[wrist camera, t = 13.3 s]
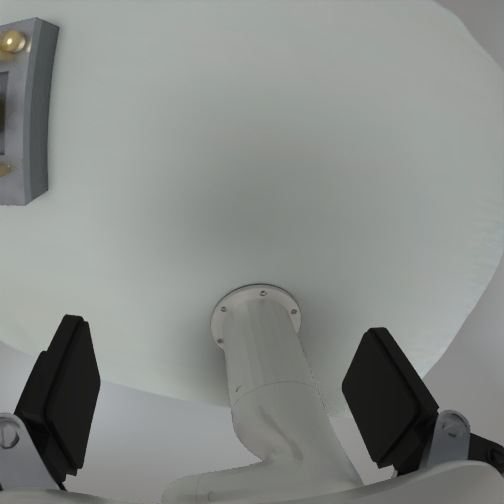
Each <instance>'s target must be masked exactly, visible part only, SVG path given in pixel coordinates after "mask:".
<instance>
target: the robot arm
mask: <svg viewBox="0 0 504 504" xmlns="http://www.w3.org/2000/svg"><path fill="white" fill-rule="evenodd" d="M300 325H301V313H300V310H299V307H298V305H297V303H296V301H295V300H294V299H293V297H292V296H291V295H289V294H288V293H287V292H286V291H284V290H282V289H280V288H277V287H274V286H270V285H251V286H246V287H242V288H240V289H237V290H235V291H233V292H231V293H230V294H228V295H227V296H225V297H224V298H223V299H222V300H221V301H220V302H219V303H218V305H217V306H216V307H215V309H214V311H213V314H212V317H211V333H212V336H213V339H214V341H215V342H216V344H217V345H218V346H219V347H220V348H221V349H222V350H223V351H225V361H226V370H227V379H228V388H229V397H230V405H231V414H232V422H233V427H234V431H235V433H236V435H237V437H238V438H239V440H240V442H241V443H242V444H243V445H244V446H245V447H246V448H247V449H248V450H249V451H250V452H251V453H253V454H254V455H255V456H257V457H258V458H260V459H261V460H263V461H262V462H259V463H255V464H251V465H249V466H244V467H239V468H233V469H227V470H222V471H215V472H208V473H202V474H196V475H191V476H185V477H182V478H179V479H177V480H175V481H173V482H172V483H170V484H169V485H168V486H167V487H166V489H165V491H164V492H163V495H162V499H161V504H504V447H503V446H501V445H499V444H497V443H495V442H492V441H490V440H487V439H485V438H482V437H480V436H477V435H475V434H472V433H470V425H469V422H468V421H467V419H466V418H465V417H464V416H463V415H462V414H461V413H459V412H457V411H454V410H445V411H442V412H441V413H440V414H439V413H438V412H437V410H438V408H439V406H438V405H437V403H436V401H435V400H434V398H433V397H432V395H431V394H430V392H429V390H428V389H427V387H426V386H425V384H424V383H423V382H422V380H421V378H420V377H419V375H418V374H417V372H416V371H415V369H414V368H413V366H412V365H411V363H410V362H409V360H408V359H407V357H406V356H405V354H404V353H403V351H402V350H401V349H400V347H399V346H398V344H397V343H396V341H395V340H394V338H393V337H392V336H391V334H390V333H389V331H388V330H387V329H386V328H384V327H380V328H370V329H369V330H368V331H367V332H365V333H364V335H363V337H362V339H361V342H360V344H359V347H358V349H357V351H356V353H355V356H354V358H353V360H352V363H351V365H350V367H349V369H348V371H347V374H346V376H345V378H344V380H343V382H342V392H343V394H344V396H345V399H346V401H347V403H348V406H349V408H350V410H351V413H352V415H353V417H354V419H355V422H356V424H357V426H358V429H359V431H360V433H361V435H362V438H363V440H364V443H365V445H366V448H367V450H368V452H369V455H370V457H371V459H372V461H373V462H376V463H377V466H378V468H379V469H380V468H383V467H387V466H390V465H392V464H393V466H394V472H393V475H392V477H391V479H388V480H385V481H382V482H378V483H374V484H370V485H367V486H365V485H364V483H363V481H362V479H361V477H360V475H359V473H358V472H357V470H356V469H355V467H354V465H353V464H352V462H351V461H350V459H349V458H348V456H347V454H346V452H345V451H344V449H343V447H342V446H341V443H340V442H339V440H338V438H337V436H336V434H335V432H334V430H333V427H332V425H331V423H330V420H329V418H328V415H327V413H326V410H325V408H324V405H323V403H322V400H321V397H320V395H319V392H318V389H317V387H316V384H315V381H314V378H313V376H312V373H311V371H310V368H309V365H308V363H307V360H306V357H305V355H304V352H303V349H302V347H301V344H300V341H299V339H298V336H297V334H298V331H299V329H300ZM99 390H100V375H99V371H98V367H97V362H96V358H95V353H94V349H93V344H92V339H91V334H90V328H89V324H88V322H87V321H84V319H83V317H81V316H75V315H67V314H66V315H65V316H64V317H63V319H62V321H61V323H60V325H59V327H58V329H57V331H56V333H55V335H54V337H53V339H52V341H51V343H50V345H49V348H48V350H47V351H42V352H41V353H40V355H39V357H38V359H37V361H36V363H35V365H34V367H33V370H32V372H31V374H30V376H29V378H28V381H27V383H26V385H25V388H24V390H23V392H22V394H21V397H20V399H19V402H18V404H17V406H16V409H15V412H14V414H11V413H0V504H159V503H147V502H137V501H128V500H119V499H112V498H106V497H99V496H93V495H88V494H81V493H74V492H69V491H68V490H67V488H66V486H65V485H64V483H63V482H64V481H65V479H66V474H69V475H73V476H76V474H77V469H81V468H82V467H83V463H84V457H85V452H86V447H87V442H88V437H89V433H90V428H91V423H92V419H93V414H94V410H95V406H96V401H97V398H98V393H99Z"/></svg>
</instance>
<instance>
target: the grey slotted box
mask: <svg viewBox="0 0 504 504" xmlns="http://www.w3.org/2000/svg"><path fill="white" fill-rule="evenodd" d="M58 31H59V27H58V26H56V25H53V24H51V23H49V22H46V21H44V20H42V19H39V18H37V17H36V18H31V19H26V20H22V21H18V22H13V23H10V24H6V25H2V26H0V99H1V101H2V104H3V110H4V113H3V122H2V125H1V128H0V205H16V206H26V205H27V204H28V203H30V202H31V201H33V200H34V199H36V198H37V197H38V196H40V195H41V194H43V193H44V192H46V191H47V190H48V179H47V134H48V112H49V98H50V87H51V78H52V69H53V62H54V55H55V48H56V42H57V36H58Z"/></svg>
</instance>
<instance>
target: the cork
mask: <svg viewBox="0 0 504 504" xmlns="http://www.w3.org/2000/svg"><path fill="white" fill-rule="evenodd" d="M3 113H4V110H3V104H2V101H1V99H0V128H1V125H2V122H3Z"/></svg>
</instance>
